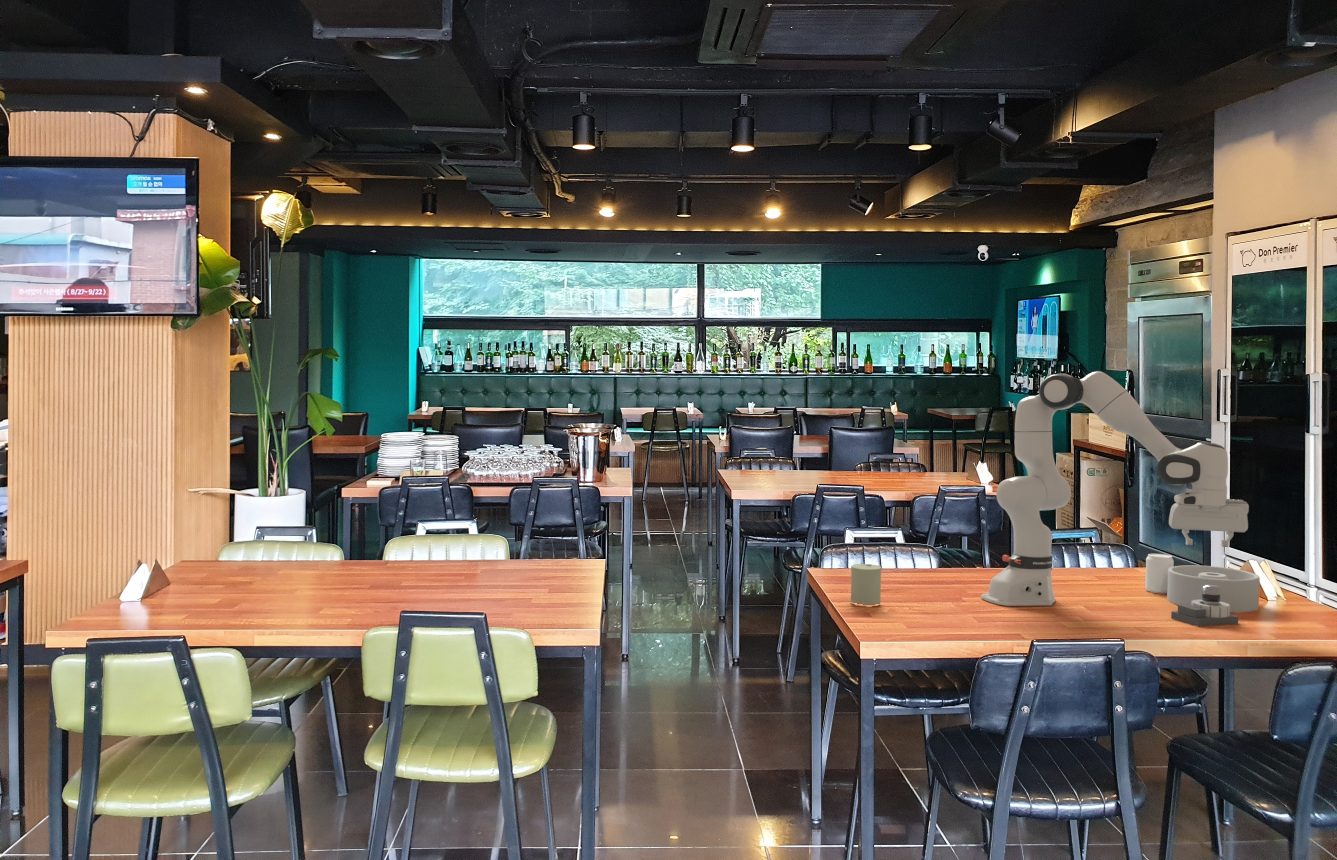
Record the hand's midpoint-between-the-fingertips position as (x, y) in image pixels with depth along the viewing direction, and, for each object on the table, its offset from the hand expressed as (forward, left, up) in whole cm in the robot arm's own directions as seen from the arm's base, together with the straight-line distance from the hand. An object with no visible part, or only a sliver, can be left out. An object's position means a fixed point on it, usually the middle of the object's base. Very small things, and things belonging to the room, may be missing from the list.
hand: (1206, 545), depth 289 cm
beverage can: (+16, +35, -22) cm, 44 cm away
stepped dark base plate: (-2, -2, -21) cm, 21 cm away
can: (-87, +42, -22) cm, 99 cm away
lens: (-1, -3, -19) cm, 19 cm away
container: (+19, +16, -22) cm, 33 cm away
